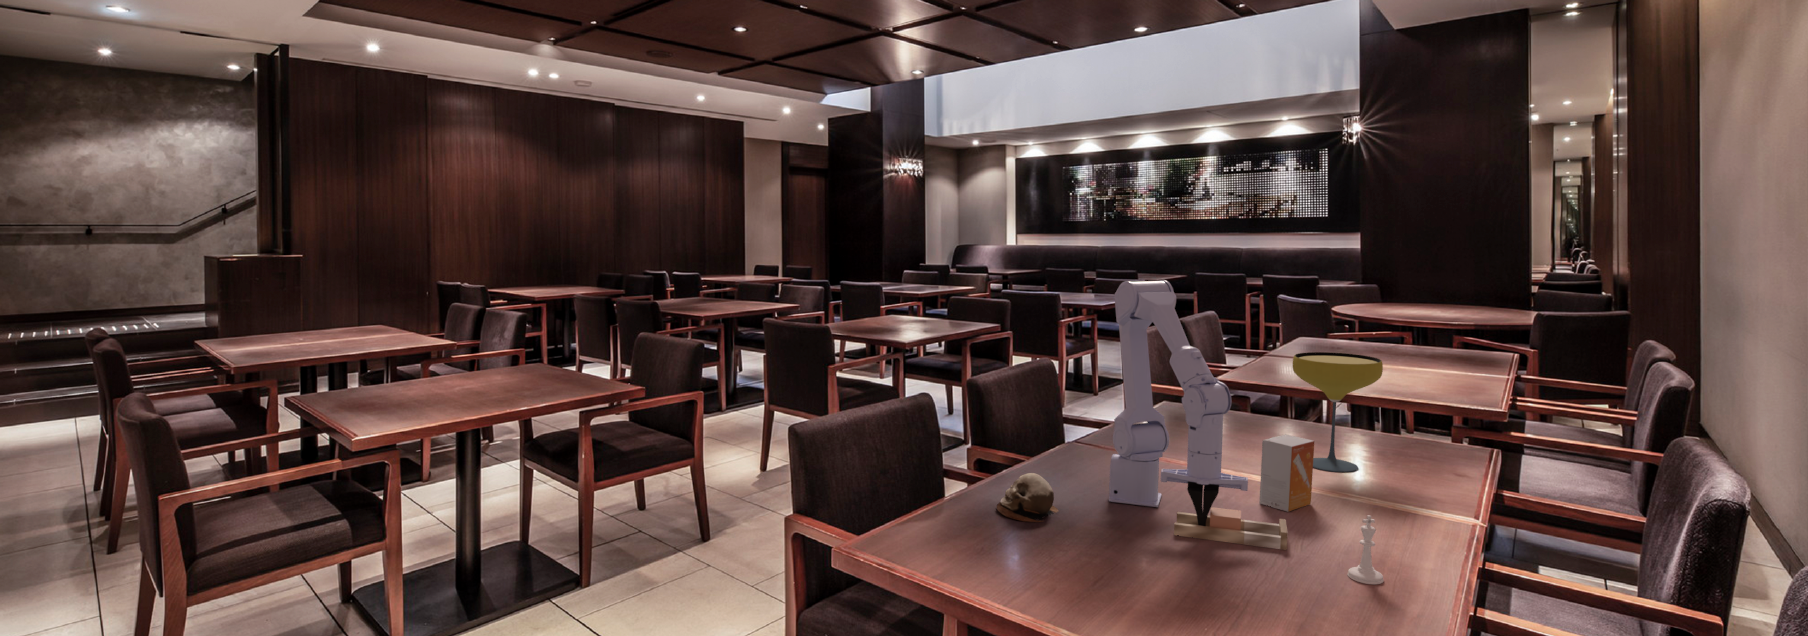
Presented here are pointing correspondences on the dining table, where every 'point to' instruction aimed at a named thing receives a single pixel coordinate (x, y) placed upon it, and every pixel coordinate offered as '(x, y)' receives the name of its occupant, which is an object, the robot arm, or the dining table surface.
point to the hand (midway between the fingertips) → (1202, 524)
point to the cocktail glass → (1336, 387)
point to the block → (1225, 518)
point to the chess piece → (1366, 558)
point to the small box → (1286, 472)
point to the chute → (1234, 532)
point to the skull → (1028, 499)
